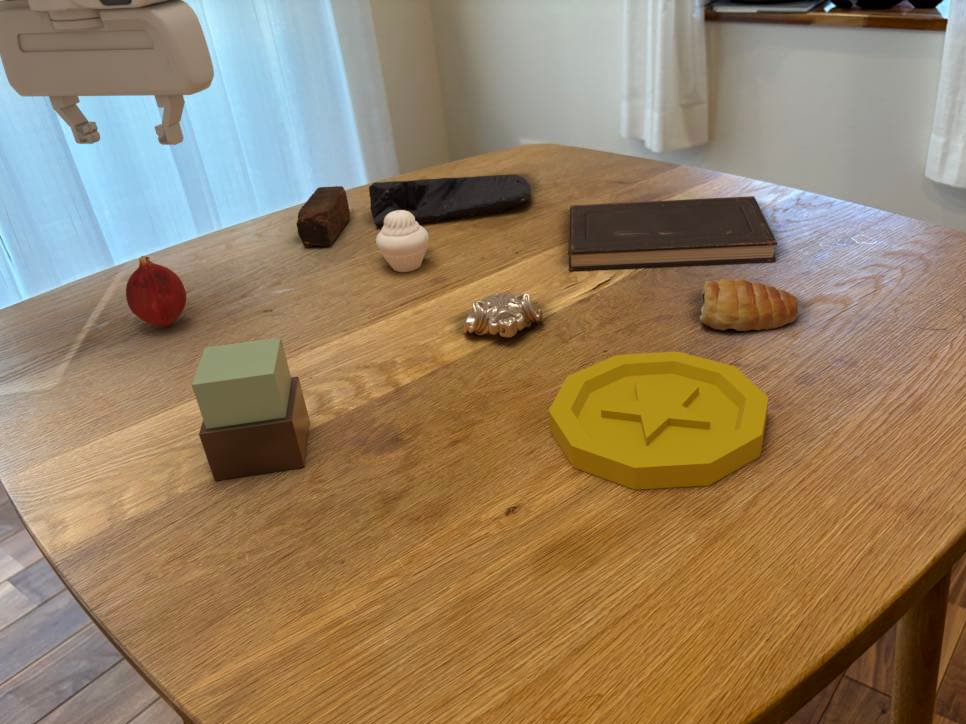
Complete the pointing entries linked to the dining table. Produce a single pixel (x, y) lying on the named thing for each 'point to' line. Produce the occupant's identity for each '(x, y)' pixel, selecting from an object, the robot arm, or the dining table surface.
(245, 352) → the sage block
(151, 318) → the onion
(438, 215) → the dark slate chunk
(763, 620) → the dining table surface
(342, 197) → the dark brown bar
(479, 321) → the ornament
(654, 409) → the decorative disc
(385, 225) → the cream cupcake
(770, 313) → the pastry
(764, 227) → the hardcover book
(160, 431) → the dining table surface
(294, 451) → the walnut block
